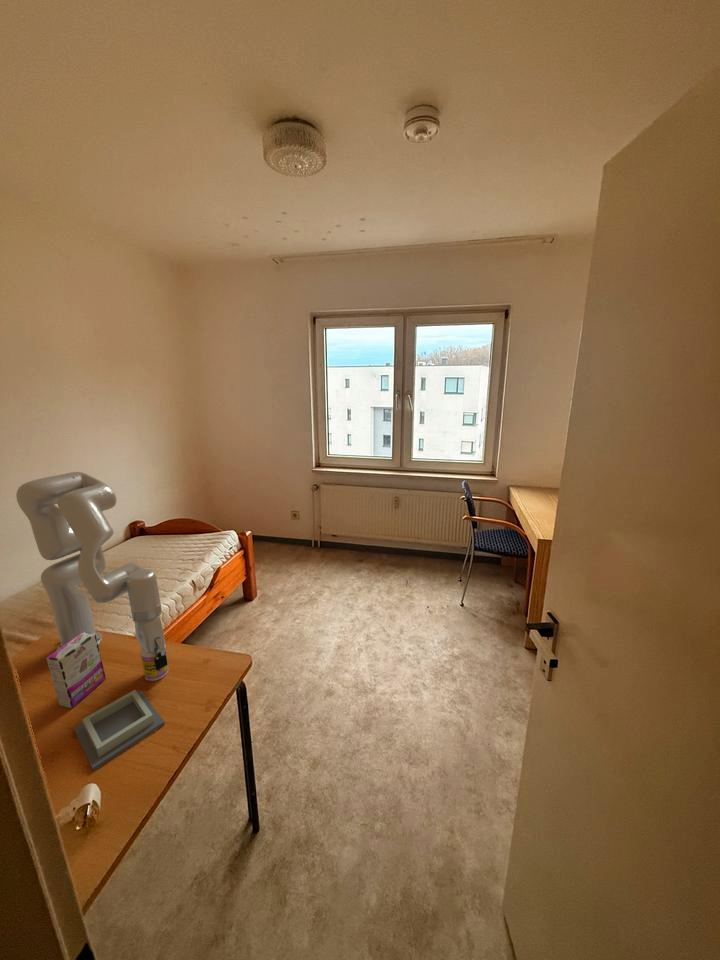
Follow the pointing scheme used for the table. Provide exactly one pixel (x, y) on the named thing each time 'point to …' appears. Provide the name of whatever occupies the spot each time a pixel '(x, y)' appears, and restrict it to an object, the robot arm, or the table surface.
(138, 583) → the robot arm
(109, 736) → the tray
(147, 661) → the supplement bottle
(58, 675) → the candy bar box
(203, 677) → the table surface
